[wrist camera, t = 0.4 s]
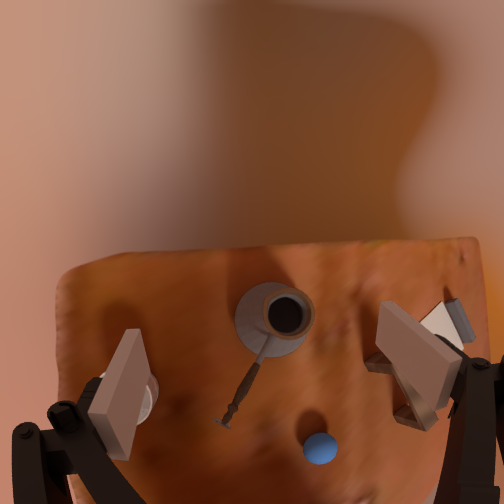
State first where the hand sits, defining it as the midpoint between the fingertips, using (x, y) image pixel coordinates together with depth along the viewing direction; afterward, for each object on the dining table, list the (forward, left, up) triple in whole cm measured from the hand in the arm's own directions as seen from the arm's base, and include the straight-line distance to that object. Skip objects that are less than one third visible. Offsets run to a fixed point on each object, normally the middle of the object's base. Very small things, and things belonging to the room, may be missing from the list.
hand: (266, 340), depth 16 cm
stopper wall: (-23, -40, -33) cm, 57 cm away
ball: (-23, -3, -30) cm, 38 cm away
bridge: (-23, -19, -33) cm, 44 cm away
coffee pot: (-3, -3, -33) cm, 33 cm away
